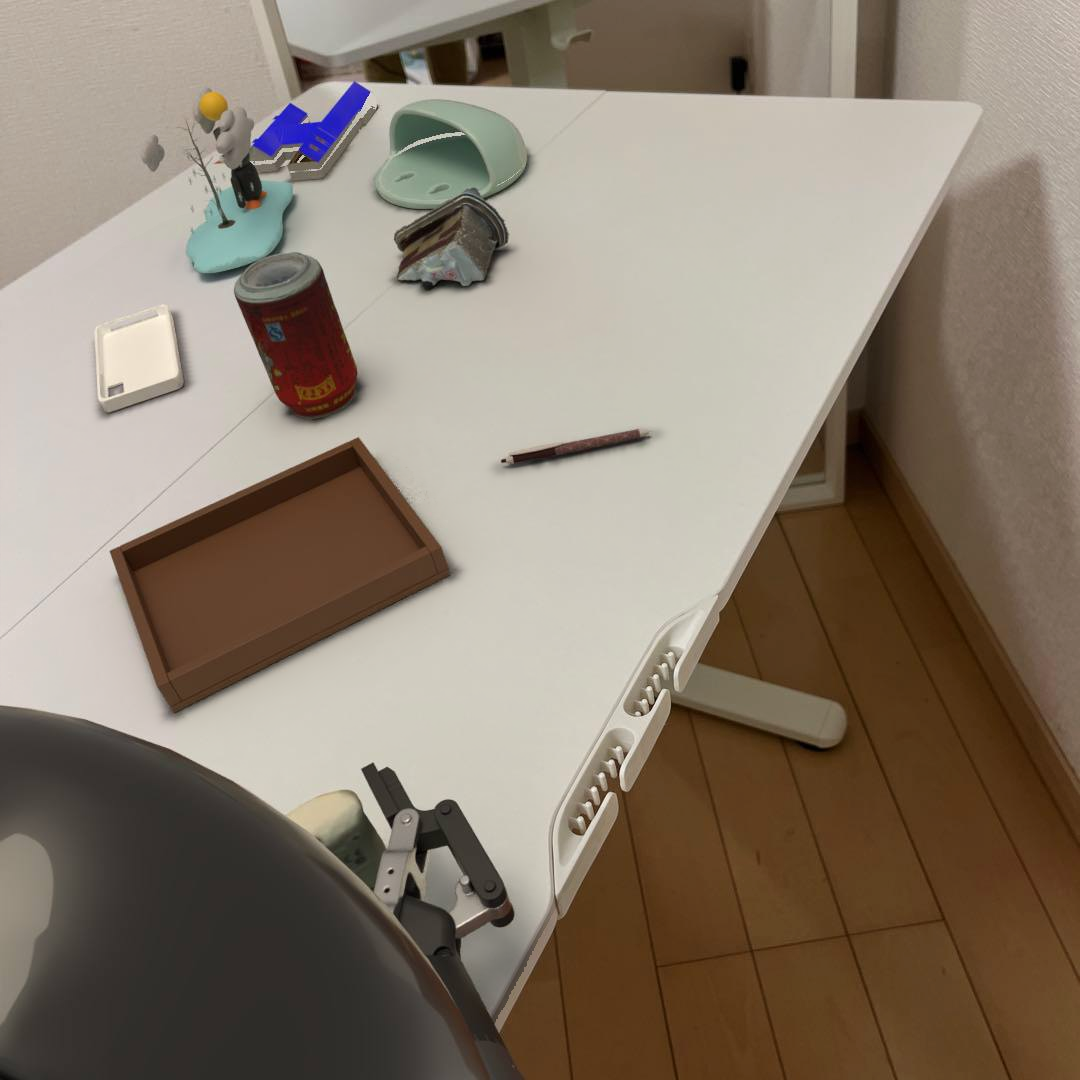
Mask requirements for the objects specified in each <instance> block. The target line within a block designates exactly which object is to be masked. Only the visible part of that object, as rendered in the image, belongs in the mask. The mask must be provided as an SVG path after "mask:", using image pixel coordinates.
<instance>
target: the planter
mask: <svg viewBox="0 0 1080 1080" xmlns="http://www.w3.org/2000/svg"><path fill="white" fill-rule="evenodd" d="M388 132H389V133H388V134H389V153H388V156H389V155H390V156H393V155H395V154H397V153H398V152H399V151H401V150H403V149H404V148H405V147H407V146H408V145H410V144H413V143H414V142H416V141H418V140H421V139H425V138H429V137H432V136H436V135H440V134H445V133H455V132H462V133H464V134H465V135H461V136H452V137H446V138H441V139H436V140H432V141H429V142H426V143H423V144H420V145H417V146H415V147H412V148H410V149H408V150H406V151H404V152H402V153H401V154H399V155H397V156H395V157H393V158H391V159H389V157H388V156H387V158H386V159H385V161H384V162H383V164H382V165H381V166H380V168H379V169H378V170H377V172H376V173H375V175H374V176H375V177H374V181H373V182H374V186H375V188H376V190H377V192H378V194H379V196H380V197H381V198H382V199H384V200H385V201H386V202H388V203H390V204H393V205H396V206H399V207H403V208H406V209H407V208H408V209H413V210H414V209H417V210H433V209H435V208H436V207H437V206H439V205H441V204H443V203H444V202H446V201H447V200H449V199H450V200H451V199H452V198H454V197H455V196H458V195H459V194H460V193H462V192H464V191H465V190H467V188H468V189H469V190H470V189H471V188H476V189H477V190H478V192H479V193H480V195H481V198H482V199H486V198H488V197H490V196H493V195H495V194H497V193H499V192H501V191H503V190H505V189H506V188H508V187H509V186H511V185H512V184H513V183H514V182H516V181H517V180H518V179H519V178H520V177H521V176H522V174H523V173H524V171H525V169H526V165H527V162H528V151H527V146H526V143H525V139H524V138H523V135H522V133H521V132H520V130H519V128H518V127H517V125H515V124H514V122H513V121H511V120H510V119H508V118H507V117H505V116H504V115H502V114H501V113H497V112H495V111H494V110H491V109H488V108H485V107H482V106H478V105H475V104H472V103H467V102H461V101H458V100H450V99H442V98H441V99H439V98H436V99H434V98H433V99H430V98H429V99H422V100H418V101H414V102H411V103H409V104H406V105H405V106H402V107H401V108H399V109H398V110H396V112H395V113H394V114H393V116H392V118H391V121H390V124H389V131H388ZM523 165H524V166H523ZM522 166H523V167H522ZM520 169H521V170H520ZM519 170H520V171H519ZM518 171H519V172H518ZM517 172H518V173H517ZM516 173H517V174H516ZM514 174H515V175H514ZM513 175H514V176H513ZM512 176H513V177H512ZM510 177H512V178H510ZM509 178H510V179H509ZM508 179H509V180H508ZM506 180H507V181H506ZM504 181H505V182H504ZM502 182H504V183H502ZM501 183H502V184H501ZM498 184H500V185H498ZM497 185H498V186H497Z"/></svg>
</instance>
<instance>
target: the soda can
mask: <svg viewBox="0 0 1080 1080" xmlns="http://www.w3.org/2000/svg"><path fill="white" fill-rule="evenodd" d="M233 294H234V297H235V301H236V303H237V305H238V307H239V309H240V312H241V314H242V317H243V319H244V322H245V325H246V326H247V329H248V331H249V334H250V336H251V338H252V341H253V343H254V345H255V348H256V350H257V352H258V356H259V357H260V360H261V362H262V365H263V367H264V369H265V372H266V374H267V376H268V380H269V382H270V384H271V387H272V388H273V391H274V393H275V395H276V398H278V401H280V403H282V404H283V405H284V406H286V407H288V408H289V409H290V410H291V412H292V413H293V415H295V416H297V417H298V418H302V419H308V420H309V419H310V420H312V419H314V420H315V419H320V418H325V417H329V416H331V415H333V414H335V413H338V412H339V411H341V410H343V409H345V408H346V407H347V406H348V405H349V404H350V403H351V402H352V401H353V400H354V398H355V396H356V382H357V378H358V367H357V364H356V361H355V358H354V355H353V353H352V350H351V346H350V345H349V342H348V339H347V338H348V337H347V336H346V332H345V330H344V327H343V324H342V321H341V318H340V314H339V312H338V310H337V308H336V304H335V302H334V298H333V296H332V293H331V290H330V286H329V284H328V281H327V279H326V276H325V272H324V269H323V267H322V265H321V263H320V261H318V259H316V258H314V257H313V256H312V255H308V254H303V253H301V252H298V251H294V252H293V251H292V252H281V253H275V254H272V255H267V256H265V257H264V258H262V259H260V260H257V261H255V262H252V263H250V265H248V266H247V267H246V268H245V270H244V271H243V272H242V274H241V275H240V276H239V277H238V278H237V279H236V281H235V283H234V286H233Z"/></svg>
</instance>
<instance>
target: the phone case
mask: <svg viewBox="0 0 1080 1080" xmlns="http://www.w3.org/2000/svg"><path fill="white" fill-rule="evenodd" d="M152 312H156V314H157V315H155V316H152V317H149V318H145V319H143V320H139V321H136V322H134V323H130V324H128V325H124V326H122V327H119V328H116V329H113V330H112V329H111V327H110V326H112V325H115V324H119V323H121V322H124V321H128V320H130V319H133V318H136V317H140V316H142V315H146V314H148V313H152ZM93 333H94V335H93V336H94V349H95V350H94V352H95V372H96V393H97V400H98V402H99V403H100V406H101V407H102V409H103V410H104V413H112V412H115V411H118V410H120V409H124V408H127V407H130V406H133V405H136V404H138V403H141V402H144V401H147V400H150V399H153V398H157V397H159V396H162V395H165V394H167V393H171V392H173V391H177V390H179V389H181V388H182V387H183V386H184V384H185V383H184V381H185V380H184V375H183V369H182V364H181V357H180V352H179V345H178V340H177V333H176V328H175V322H174V317H173V315H172V313H171V311H170V308H169V306H168V305H167V304H165V303H162V304H159V305H156V306H153V307H150V308H147V309H144V310H141V311H138V312H135V313H132V314H129V315H125V316H122V317H118V318H117V319H113V320H110V321H106V322H104V323H101V324H98V325H97V326H96V327H95V328H94V332H93ZM121 385H123V392H121V393H118V394H114V395H112V396H110V391H109V389H111V388H114V387H117V386H121Z"/></svg>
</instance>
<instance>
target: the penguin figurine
mask: <svg viewBox="0 0 1080 1080" xmlns="http://www.w3.org/2000/svg"><path fill="white" fill-rule="evenodd" d="M228 108H229V106H228V101H227V99H226V98H225V97H224V96H223V94H221V93H220V92H217V91H213V90H212V88H210V87H208V86H205V87H204V88H203V89H202V90H201V91H200V93H199V94H198V95H197V97H196V98H195V99H194V102H193V105H192V115H193V120H194V122H196V123H193V125H192V130H191V129H190V127H189V124H188V121H187V118H184V120H185V123H186V126H187V128H184V127H180V126H177V129H178V128H180V129H183V130H184V131H187V132H188V134H189V136H190V139H191V143H192V145H193V146H194V148H188V149H184V152H183V154H184V155H186V158H187V161H189V162H190V161H193V162H194V163H195V164H197V165H198V166H199V167H200V168H198V167H197V169H198V170H199V171H200V172H203V173H204V175H203V174H201V173H200V172H196V169H195V168H193V169H192V172H191V173H192V174H193V177H194V178H196V177H197V175H200V176H201V177H204V176H205V178H206V180H207V182H208V184H209V187H210V189H211V191H209V190H208V188H207V187H208V186H207V185H205V186H204V188H203V189H204V191H203V192H205V194H207V195H209V193H211V192H212V194H213V197H212V198H209V200H206V199H205V201H208V203H207V205H206V207H205V208H203V214H204V215H205V216H204V217H205V218H204V220H205V221H204V222H202V223H201V224H200V225H199V226H198V227H197V228H195V230H194V227H192V226H190V230H189V232H191V234H190V236H189V238H188V240H187V243H186V247H185V248H186V249H185V250H186V251H185V253H186V256H187V258H188V259H189V260H191V261H192V262H193V269H194V270H196V272H198V273H201V274H215V273H216V274H217V273H221V272H226V271H229V270H233V269H238V268H240V267H245V266H247V265H249V264H250V265H251V264H253V263H255V262H256V261H258V260H260V259H262V258H265V257H268V256H269V255H270V254H271V253H272V252H273V251H274V250H275V248H276V247H277V246H278V244H279V243H280V242H281V239H282V237H283V232H284V225H283V214H284V212H285V210H286V209H287V207H288V206H289V205H290V203H291V201H292V200H293V195H294V194H293V192H294V191H293V190H294V185H293V184H292V183H291V182H287V181H286V182H285V181H276V180H275V181H274V180H273V181H272V180H261V178H260V175H259V173H258V172H257V170H256V168H255V167H256V166H254V165H253V164H252V163H251V162H250V161H249V159H250V154H249V151H250V148H251V146H252V141H251V138H252V131H253V130H254V127H255V122H254V119H252V118H251V117H248V115H247V114H248V113H247V111H246V109H245V108H244V107H242V106H238V107H235V108H233V109H228ZM217 121H218V127H216V128H215V125H216V122H217ZM196 124H199V126H200V129H201V130H202V131H203V132H204V133H205V134H207V135H209V134H211V133H212V135H213V136H214V139H215V150H216V152H217V153H218V154H221V155H220V156H219V159H218V160H217V161H216V162H213V165H220V164H221V165H222V164H224V165H225V166H226V167H227V168H228V169H230V180H229V181H230V184H231V186H230V187H227V188H225V189H223V190H222V188H221V187H220V186H214V183H217V179H216V176H213V177H212V178H211V176H210V174H209V172H208V170H207V166H208V165H209V164H210V163H211V161H212V160H213V156H211V157H210V160H209V161H208V162H207V163H206V164H204V161H203V158H202V153H205V150H206V148H207V147H208V146H205V147H204V150H202V151H201V152H200V150H199V147H198V146H197V144H196V143H195V141H198V139H199V137H198V138H196V139H193V135H192V132H193V130H194V127H195V125H196ZM252 147H253V146H252ZM188 150H195V151H196V153H197V155H196V157H193V155H192V154H191V153H190V151H188ZM208 150H209V149H208ZM208 150H206V152H207V151H208ZM252 150H253V151H254V152H255V149H254V148H253V149H252ZM186 152H187V153H186ZM197 157H198V158H197ZM140 158H141V159H140V160H141V161H142V163H143V164H145V165H146V166H147V169H149V170H150V171H151V172H152V173H155V172H156V171H157V170H158V168H159V167H160V163H161V162H162V161H163V160H164V158H165V149H164V147H163V145H162V144H159V137H158V136H157V135H156V134H154V133H153V134H151V135H150V136H149V137H148V138H147V140H146V141H145V142H144V143H143V144H142V146H141V148H140ZM190 158H191V159H190ZM197 160H199V162H200V163H199V162H198V161H197ZM253 163H254V164H255V160H254V162H253ZM187 177H188V182H189V184H192V183H193V180H192V178H191V177H190V176H187ZM222 178H223V181H226V175H225V173H222ZM212 179H213V180H212ZM208 192H209V193H208ZM189 205H190V209H191V212H194V211H195V208H194V206H193V205H192V204H191V203H190V204H189Z"/></svg>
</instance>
